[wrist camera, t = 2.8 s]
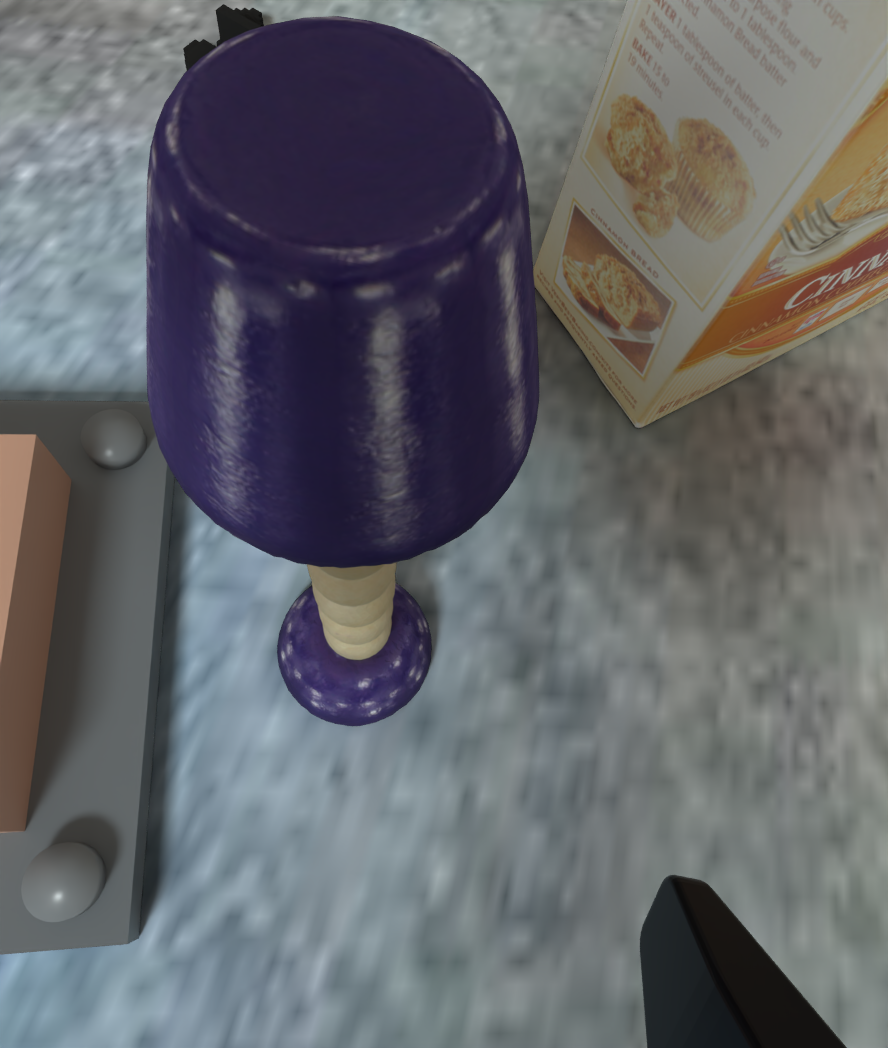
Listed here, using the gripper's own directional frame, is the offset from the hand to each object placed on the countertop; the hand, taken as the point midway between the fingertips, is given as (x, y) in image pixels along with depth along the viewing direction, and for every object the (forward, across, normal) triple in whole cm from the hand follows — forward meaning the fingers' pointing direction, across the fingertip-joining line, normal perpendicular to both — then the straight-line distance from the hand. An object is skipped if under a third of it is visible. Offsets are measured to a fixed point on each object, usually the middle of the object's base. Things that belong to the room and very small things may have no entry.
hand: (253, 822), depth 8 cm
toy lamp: (+12, 0, +5) cm, 13 cm away
